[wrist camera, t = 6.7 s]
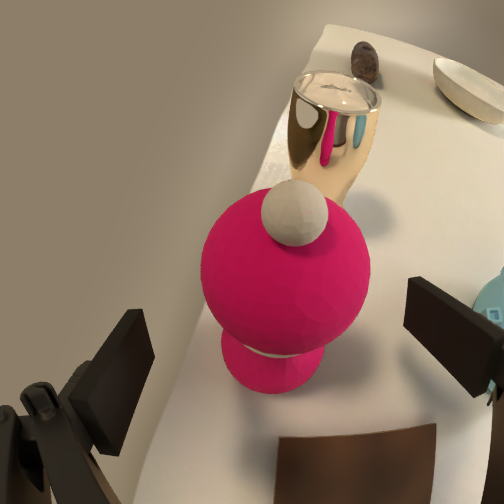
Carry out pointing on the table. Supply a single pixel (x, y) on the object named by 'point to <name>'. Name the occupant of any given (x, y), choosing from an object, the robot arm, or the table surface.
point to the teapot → (492, 304)
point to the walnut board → (357, 468)
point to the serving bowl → (469, 90)
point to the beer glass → (331, 130)
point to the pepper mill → (283, 282)
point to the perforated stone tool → (364, 62)
